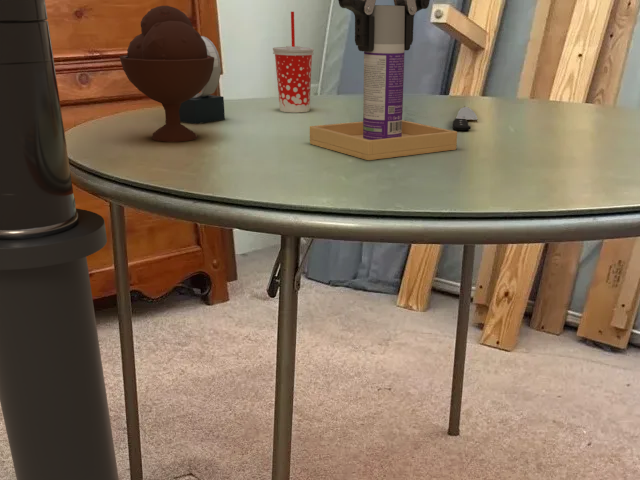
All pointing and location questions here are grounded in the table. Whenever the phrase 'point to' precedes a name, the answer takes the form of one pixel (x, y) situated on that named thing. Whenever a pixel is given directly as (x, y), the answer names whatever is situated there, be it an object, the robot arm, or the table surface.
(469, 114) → the kitchen knife
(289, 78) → the beverage cup
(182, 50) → the ice cream bowl
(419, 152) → the tray
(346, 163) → the table surface
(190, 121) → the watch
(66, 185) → the robot arm
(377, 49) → the container
